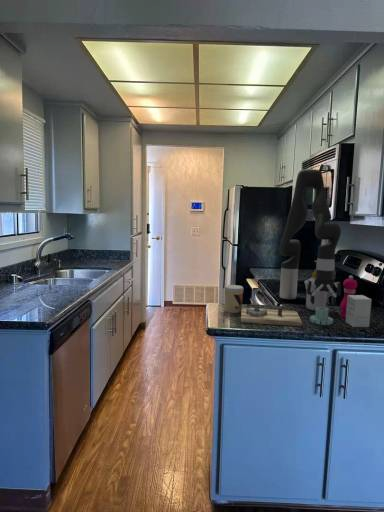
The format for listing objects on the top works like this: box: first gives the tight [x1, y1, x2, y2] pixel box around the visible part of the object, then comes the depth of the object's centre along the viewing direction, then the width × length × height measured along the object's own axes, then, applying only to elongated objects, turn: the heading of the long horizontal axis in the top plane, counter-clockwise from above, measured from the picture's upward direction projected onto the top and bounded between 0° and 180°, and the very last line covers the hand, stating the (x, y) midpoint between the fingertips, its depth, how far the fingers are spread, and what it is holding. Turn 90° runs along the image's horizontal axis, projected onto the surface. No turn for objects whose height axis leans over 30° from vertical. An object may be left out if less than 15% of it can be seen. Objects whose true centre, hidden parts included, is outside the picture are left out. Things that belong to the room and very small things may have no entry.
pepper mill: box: [339, 275, 358, 319], centre depth 164 cm, size 7×7×20 cm
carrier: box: [240, 302, 303, 327], centre depth 160 cm, size 16×26×6 cm, turn 81°
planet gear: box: [309, 307, 334, 326], centre depth 158 cm, size 10×10×6 cm
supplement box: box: [345, 294, 372, 328], centre depth 154 cm, size 7×7×13 cm
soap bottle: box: [304, 260, 329, 312], centre depth 176 cm, size 13×13×25 cm
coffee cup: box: [223, 284, 244, 314], centre depth 171 cm, size 9×9×12 cm
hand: (322, 304), depth 157 cm, fingers open, 8 cm apart
